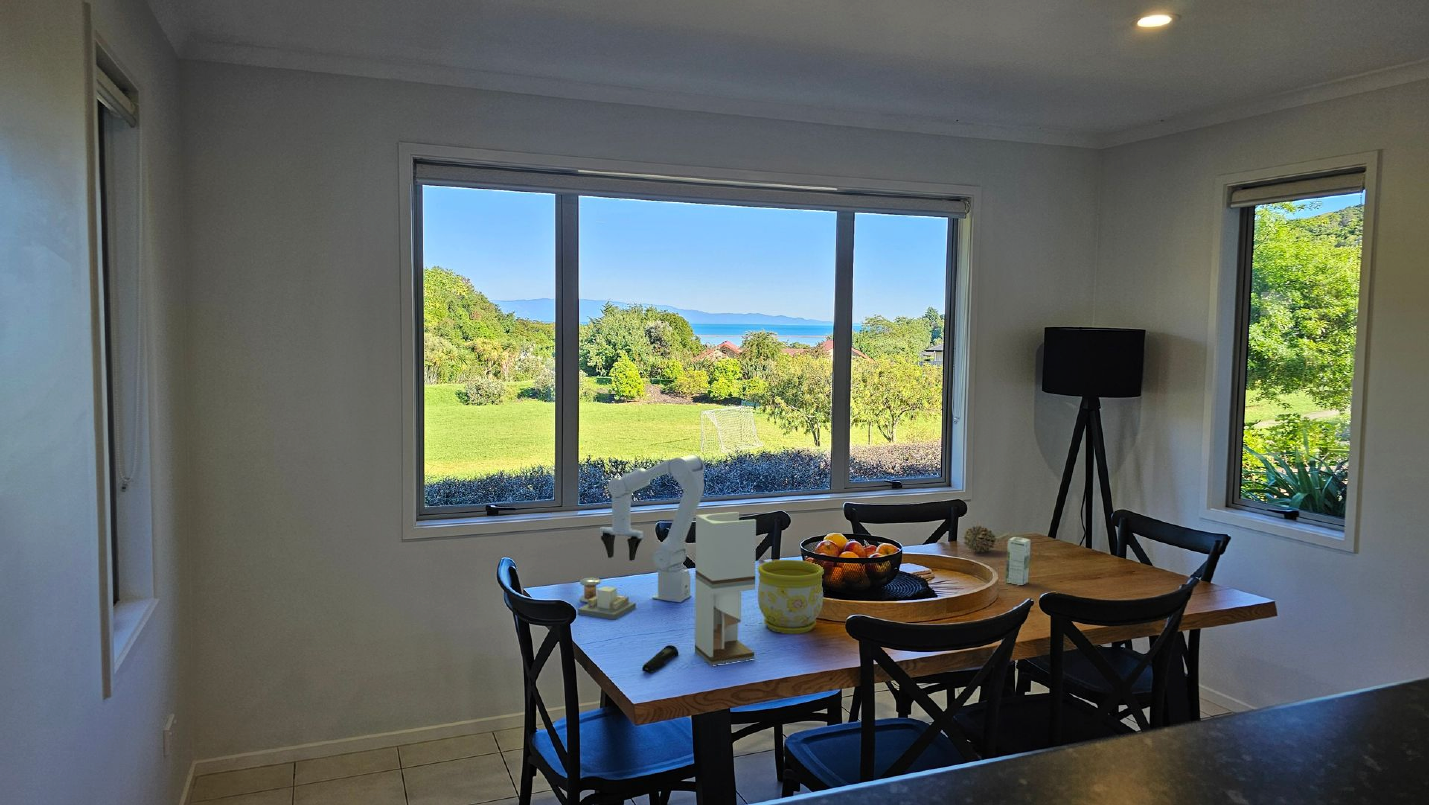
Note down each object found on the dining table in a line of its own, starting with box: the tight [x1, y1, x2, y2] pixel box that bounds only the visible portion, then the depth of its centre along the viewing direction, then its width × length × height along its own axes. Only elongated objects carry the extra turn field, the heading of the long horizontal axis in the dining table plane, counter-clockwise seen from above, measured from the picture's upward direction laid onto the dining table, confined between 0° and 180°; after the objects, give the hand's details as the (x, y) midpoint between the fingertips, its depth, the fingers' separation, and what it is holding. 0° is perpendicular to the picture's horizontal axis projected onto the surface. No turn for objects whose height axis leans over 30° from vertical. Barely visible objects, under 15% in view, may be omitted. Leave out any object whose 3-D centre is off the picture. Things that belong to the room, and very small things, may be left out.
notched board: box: [577, 594, 637, 621], centre depth 263 cm, size 12×12×4 cm
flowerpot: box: [757, 559, 824, 635], centre depth 250 cm, size 18×18×16 cm
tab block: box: [596, 586, 618, 609], centre depth 263 cm, size 4×4×5 cm
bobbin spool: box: [579, 577, 601, 604], centre depth 273 cm, size 6×6×6 cm
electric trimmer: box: [641, 644, 680, 673], centre depth 222 cm, size 4×16×3 cm, turn 157°
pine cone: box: [962, 525, 1011, 552], centre depth 339 cm, size 22×10×10 cm, turn 123°
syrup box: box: [1005, 536, 1031, 586], centre depth 296 cm, size 6×6×14 cm
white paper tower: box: [694, 511, 757, 667], centre depth 226 cm, size 11×11×35 cm
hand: (621, 558), depth 285 cm, fingers open, 7 cm apart
